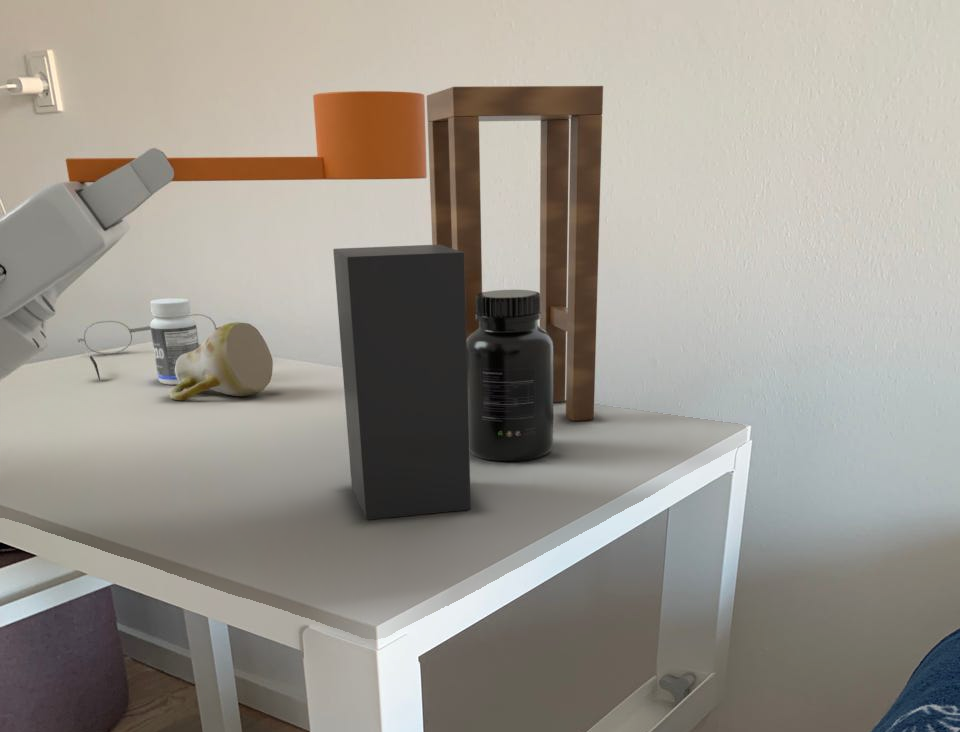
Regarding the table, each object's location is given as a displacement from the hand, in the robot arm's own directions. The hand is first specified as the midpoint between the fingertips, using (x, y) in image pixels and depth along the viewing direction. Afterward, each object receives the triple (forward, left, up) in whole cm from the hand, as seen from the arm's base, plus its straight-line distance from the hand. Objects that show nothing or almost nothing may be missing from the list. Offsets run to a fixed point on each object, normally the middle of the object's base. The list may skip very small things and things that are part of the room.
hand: (168, 160), depth 57 cm
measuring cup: (+5, 0, -1) cm, 5 cm away
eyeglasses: (-5, +64, -21) cm, 68 cm away
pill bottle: (-3, +50, -21) cm, 55 cm away
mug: (+1, +41, -21) cm, 46 cm away
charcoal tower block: (+13, 0, -21) cm, 25 cm away
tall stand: (+27, +23, -21) cm, 41 cm away
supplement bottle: (+23, +10, -21) cm, 33 cm away
